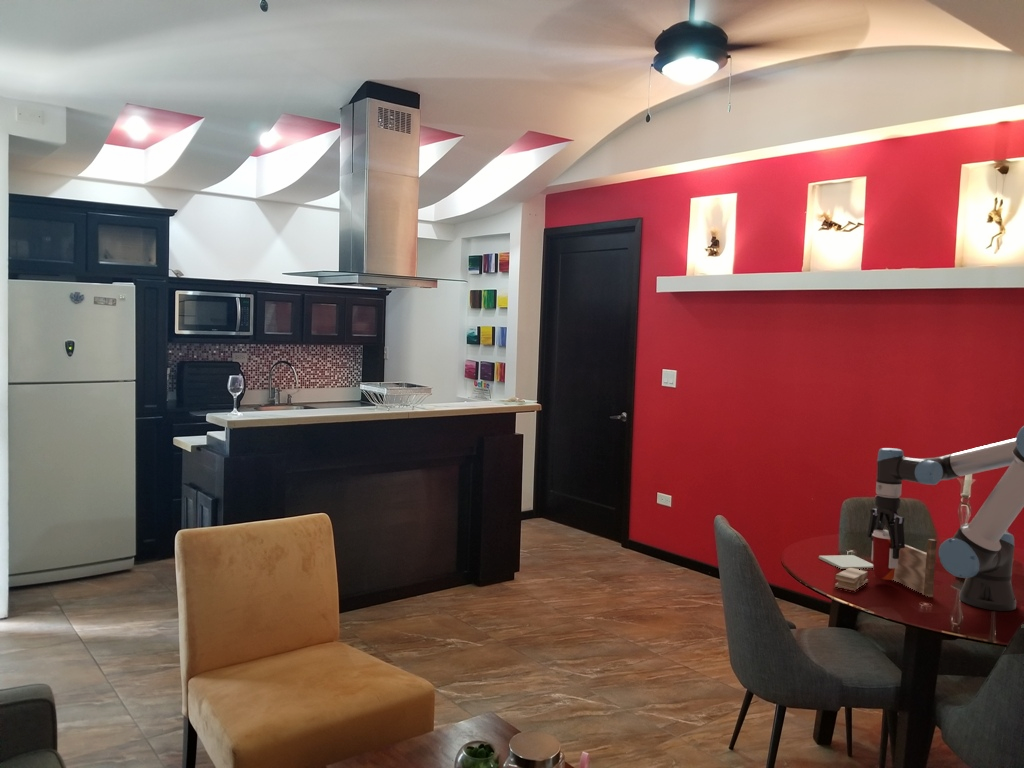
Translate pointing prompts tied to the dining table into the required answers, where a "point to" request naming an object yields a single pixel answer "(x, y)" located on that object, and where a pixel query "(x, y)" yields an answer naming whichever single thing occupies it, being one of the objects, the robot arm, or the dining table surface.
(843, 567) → the sage board
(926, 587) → the brown flat upright panel
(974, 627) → the dining table surface
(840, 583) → the offcut stack
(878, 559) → the coffee cup
